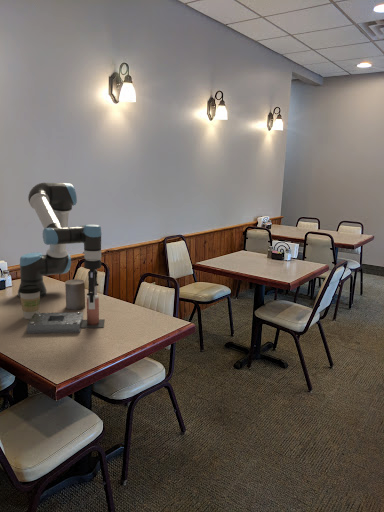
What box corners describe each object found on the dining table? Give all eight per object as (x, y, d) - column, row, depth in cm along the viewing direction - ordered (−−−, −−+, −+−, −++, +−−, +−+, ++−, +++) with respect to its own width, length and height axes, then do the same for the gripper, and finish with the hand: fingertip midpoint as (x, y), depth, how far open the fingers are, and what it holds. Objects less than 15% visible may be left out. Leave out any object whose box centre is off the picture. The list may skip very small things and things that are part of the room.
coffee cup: (34, 321, 191) (33, 290, 188) (15, 319, 193) (14, 288, 190) (45, 314, 200) (44, 285, 197) (27, 312, 202) (26, 283, 199)
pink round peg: (87, 321, 193) (87, 294, 190) (99, 321, 194) (99, 294, 191) (86, 325, 188) (86, 298, 185) (98, 325, 188) (98, 298, 186)
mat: (83, 320, 195) (83, 319, 195) (104, 320, 196) (104, 319, 196) (80, 328, 185) (80, 327, 185) (103, 327, 187) (103, 327, 187)
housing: (34, 321, 191) (34, 311, 190) (83, 320, 195) (83, 311, 194) (27, 333, 177) (26, 323, 176) (79, 332, 180) (79, 322, 179)
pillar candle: (84, 303, 219) (83, 276, 216) (85, 309, 210) (85, 281, 207) (65, 304, 216) (64, 277, 213) (66, 310, 207) (65, 282, 204)
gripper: (86, 253, 196) (87, 296, 200) (81, 265, 172) (81, 313, 176) (102, 253, 197) (102, 296, 201) (99, 265, 173) (99, 313, 177)
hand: (93, 304), depth 189 cm, fingers open, 13 cm apart
